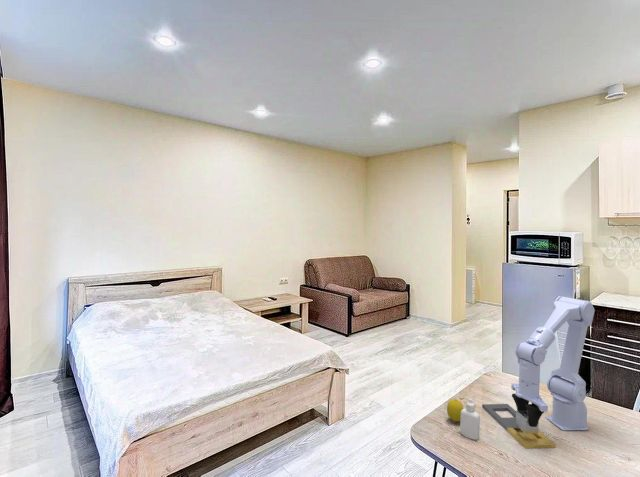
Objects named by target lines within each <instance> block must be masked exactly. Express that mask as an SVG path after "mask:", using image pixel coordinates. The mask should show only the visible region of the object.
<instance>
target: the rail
mask: <svg viewBox="0 0 640 477" xmlns="http://www.w3.org/2000/svg"><path fill="white" fill-rule="evenodd" d="M481 407H482V409H483V410H485V411H486V412H487V413H488V414H489V416H490V417H492V418H493V419H494V420H495V421H496V422H497V423H498V424H499V425H500V426H501V427H502V428H503V429H504V430H505V431H506V432H507V433H509V434H510V436H512V437H513V439H515V440H516V441H517V442H518V443H519V444H520V445H521V446H522V447H523V448H524V449H549V448H550V449H551V448H552V449H553V448H556V446H557V444H556V443H555V442H554V441H553V440H551V439H550V438H549V437H548V436H547V435H545V434H544V433H543V432H542V431H540V430H539V432H538V433H524V432H523V431H522V430H521V429H520V428H518V427H517V426H516V410H515V408H513V407H512V406H511V405H509V404H508V403H492V404H491V403H489V404H488V403H486V404H485V403H484V404H481ZM497 412H508V413H509V414H510V415H511V416H513V417H511V416H509V417H502V416H501V415H500V414H499V413H497Z"/></svg>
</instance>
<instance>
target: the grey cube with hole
mask: <svg viewBox="0 0 640 477" xmlns="http://www.w3.org/2000/svg"><path fill="white" fill-rule="evenodd" d="M515 411H516V426H517V427H518V428H520V429H521V431H523V432H524V433H538V432H539V431H540V428H539V427H540V426H539V424H540V421H539V422H538V424H537V427H531V426H529V418H528V411H527V410H517V409H516V410H515Z"/></svg>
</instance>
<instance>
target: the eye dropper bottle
mask: <svg viewBox="0 0 640 477" xmlns="http://www.w3.org/2000/svg"><path fill="white" fill-rule="evenodd" d="M465 406H466V408H464V409H462V410H461V420H460V421H459V422H460V424H459V425H460V426H459V429H460V430H459V433H460V434H461V435H462V436H464V437H465V438H467V439H470V440H474V441H477V440H479V438H480V428H481V427H480V425H481V424H480V423H481V421H480V420H481V418H480V417H481V416H480V414H479V413H478V412H477V411H475V410H476V409H475V407H476V406H475V403H474V402H473V399H471V398H469V400H468V401H467V402H466V404H465Z"/></svg>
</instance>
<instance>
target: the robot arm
mask: <svg viewBox="0 0 640 477" xmlns="http://www.w3.org/2000/svg"><path fill="white" fill-rule="evenodd" d="M593 305H594V304H592V301H590V300H584V299H579V298H574V297H567V296H562V295H559V296H558V297H557V298H555V301H554V302H553V305H552V306H553V311H552V313H551V314H550V316H549V318H548V319H547V320H546V322H545V323H544V324H543V326H538V327H537V328H535V330H534V331H533V332H532V334H530V335H529V337H528V338H527V340H526V341H524V342H523V341H522V342H519V343H518V344H517V347H516V350H514V351H515V352H514V353H515V355H516V357H517V364H518V366H519V368H518V370H519V371H518V383H511V390H512V391H515V393H512V394H511V397H512V399H513V401H514V403H515V405H516V410H527V411H528V418H529V426H531V427H537V424H538V422H539V423H540V419H541V417H542V416H543V414H544V413H546V412H549V405H548V404H547V403H546V402H545V401H544V400H543V399H542V397H541V396H540V381H541V380H540V379H541V378H540V377H541V365H542V364H543V363H544V361H545V359H546V355H547V352H548V351H547V350H548V348H549V347H550V346H551V345H552V344H553V342H554V341H555V340H556V336H555V333H557V332H558V330H559V329H560V328H562V326H564V324H566V323H567V324H568V327H567V328H568V329H567V333H566V337H565V343H564V346H563V347H564V348H563V351H562V356H561V362H560V365H559V368H557V369H554V370H552V371H551V373H550V376H549V377H548V379H547V381H546V387H547V390H548V391H549V392H550V395H551V396H552V411H551V412H552V413H551V414H552V415H547V416H546V415H545V418H546V419H547V420H548V421H550V423H552V424H553V425H554V426H556V427H557V428H559V429H560V430H562V431H565V432H566V431H589V427H587V423H588V422H587V421H588V408H587V405H586V403H585V402H584V401H585V399H586V396H587V392H586V391H587V390H586V386H587V383H586V381H585V380H584V379H583V378H582V376H580V375H579V369H580V365H581V361H582V360H581V359H582V356H583V350H584V347H585V346H584V345H585V341H586V336H587V331H588V327H591V326H592V323H593V320H594V316H595V311H596V310H595V308H594V306H593Z"/></svg>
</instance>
